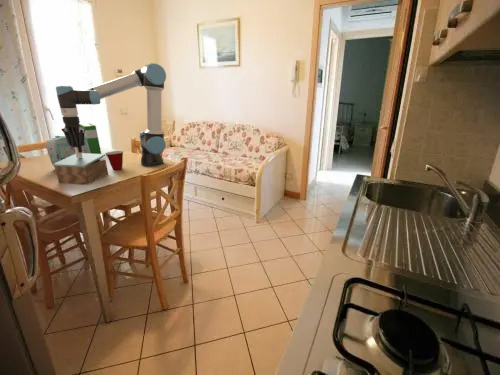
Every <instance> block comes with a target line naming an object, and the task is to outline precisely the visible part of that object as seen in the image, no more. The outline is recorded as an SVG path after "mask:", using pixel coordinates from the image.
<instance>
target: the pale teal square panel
mask: <svg viewBox="0 0 500 375" xmlns="http://www.w3.org/2000/svg"><path fill="white" fill-rule="evenodd" d="M82 157H83V158H80V159H78V158H76V154H74V155H72V156H70V157H67V158H65V159H63V160H61V161H59V162H56V163H54V164H53V165H52V167H54V166H67V167H86V166H87V165H89V164H91V163H93V162H95V161H97V160H98V159H103V158H104V157H106V154H105V153H101V154H89V153H82Z"/></svg>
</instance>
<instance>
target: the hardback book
mask: <svg viewBox="0 0 500 375" xmlns="http://www.w3.org/2000/svg"><path fill="white" fill-rule="evenodd" d="M79 125H80V126H81V128H82V129H85V133H84V135H85V136H86V138H87V140H88V144H89V148H90V151H91V154H102V150H101V146H100V140H99V136H98V130H97V126H96V125H95V124H93V123H90V122H89V123H88V124H81V123H79Z"/></svg>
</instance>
